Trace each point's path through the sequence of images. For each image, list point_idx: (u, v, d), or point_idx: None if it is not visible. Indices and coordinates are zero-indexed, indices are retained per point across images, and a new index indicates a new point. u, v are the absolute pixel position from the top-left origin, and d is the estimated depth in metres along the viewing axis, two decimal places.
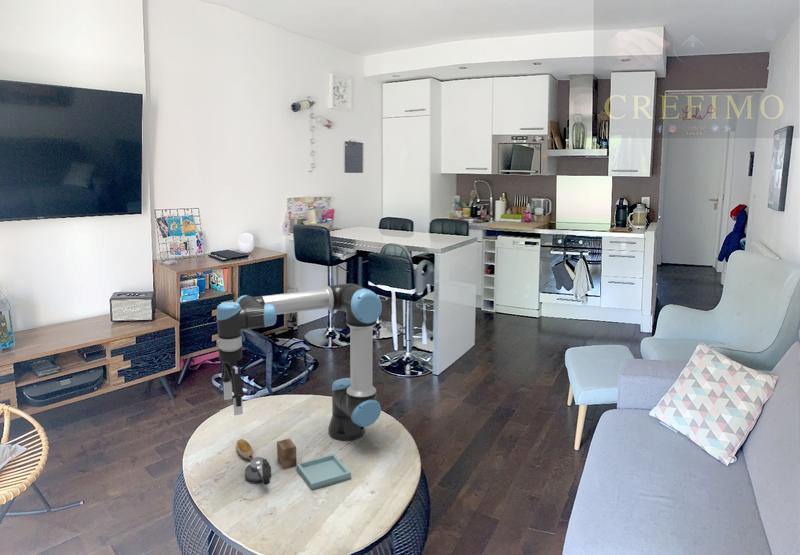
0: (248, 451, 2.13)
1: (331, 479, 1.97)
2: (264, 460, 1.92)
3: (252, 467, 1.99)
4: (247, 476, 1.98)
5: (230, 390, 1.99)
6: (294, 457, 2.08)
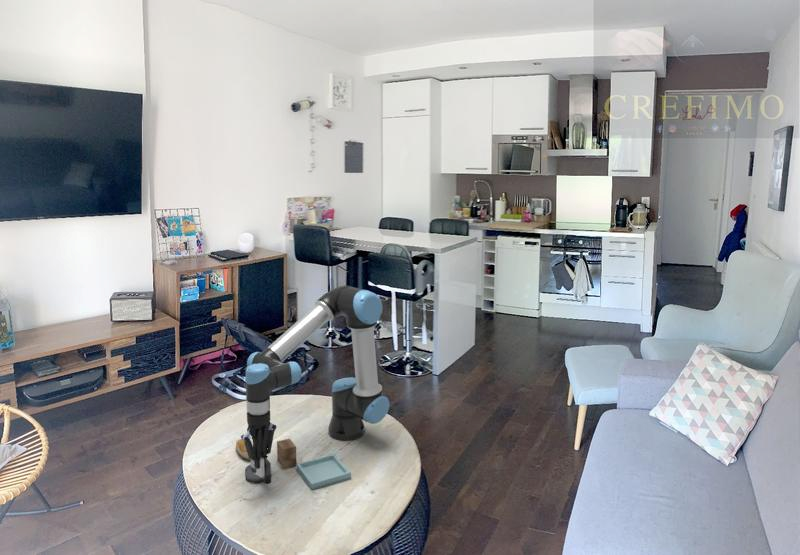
0: None
1: (331, 479, 1.97)
2: None
3: (252, 467, 1.99)
4: (247, 476, 1.98)
5: None
6: (294, 457, 2.08)
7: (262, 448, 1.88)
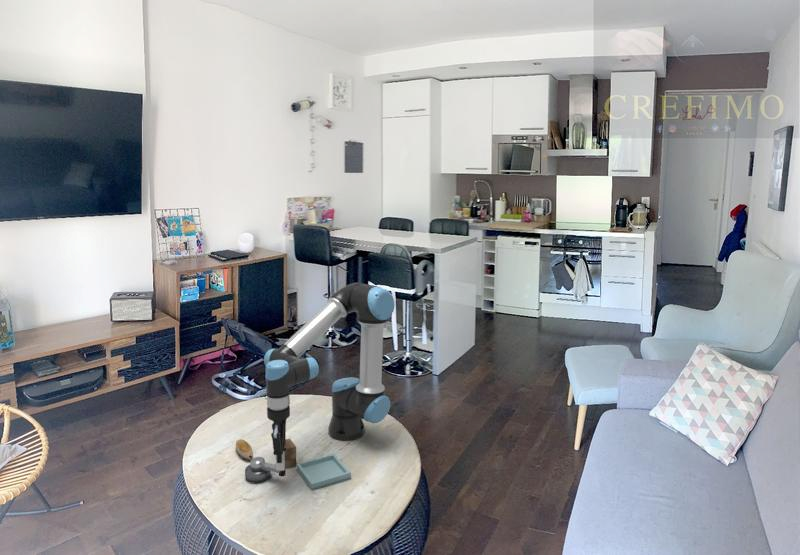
0: (248, 451, 2.13)
1: (331, 479, 1.97)
2: None
3: (256, 468, 1.99)
4: (247, 476, 1.98)
5: None
6: (294, 457, 2.08)
7: (282, 441, 1.93)
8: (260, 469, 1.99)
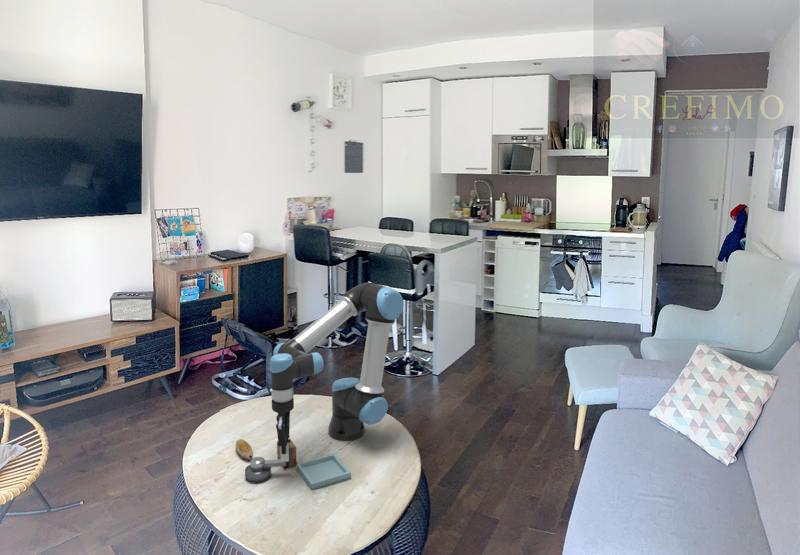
0: (248, 451, 2.13)
1: (331, 479, 1.97)
2: None
3: (260, 467, 1.99)
4: (247, 476, 1.98)
5: None
6: (294, 457, 2.08)
7: (286, 433, 1.98)
8: (263, 468, 2.00)
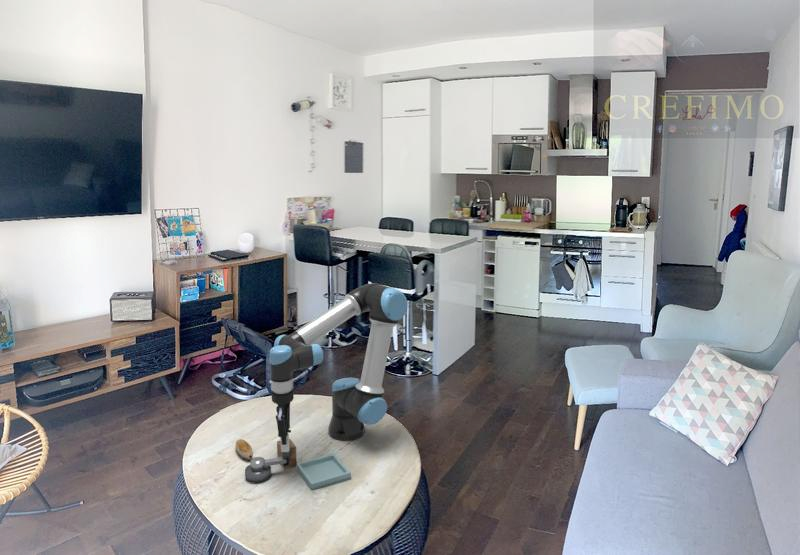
0: (248, 451, 2.13)
1: (331, 479, 1.97)
2: None
3: (261, 467, 1.99)
4: (247, 476, 1.98)
5: None
6: (294, 457, 2.08)
7: (286, 424, 2.00)
8: (264, 467, 2.01)
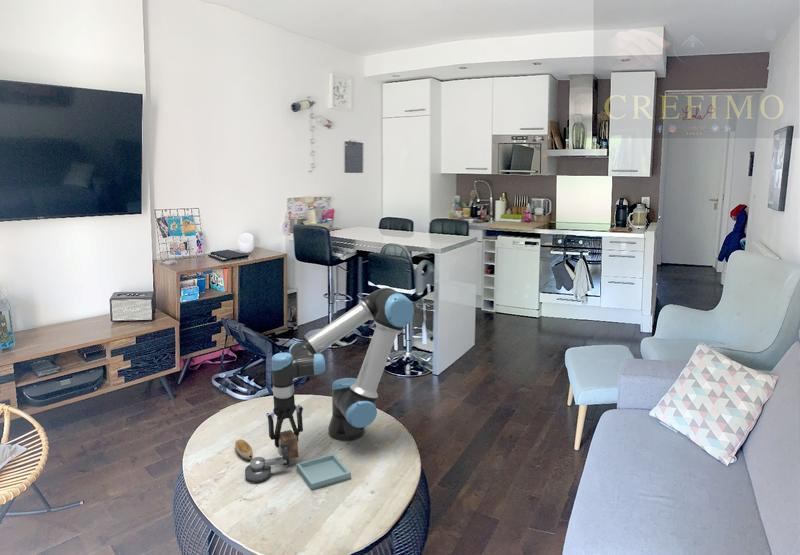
0: (248, 451, 2.13)
1: (331, 479, 1.97)
2: (283, 444, 2.03)
3: (261, 467, 1.99)
4: (247, 476, 1.98)
5: None
6: (296, 448, 2.08)
7: (293, 427, 2.10)
8: (264, 467, 2.01)
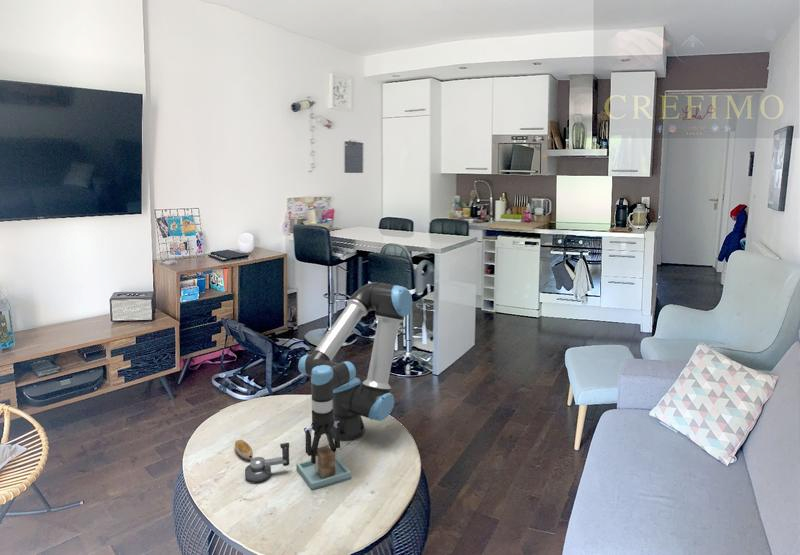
0: (248, 451, 2.13)
1: (331, 479, 1.97)
2: (283, 444, 2.03)
3: (261, 467, 1.99)
4: (247, 476, 1.98)
5: None
6: (333, 465, 2.00)
7: (330, 443, 2.02)
8: (264, 467, 2.01)
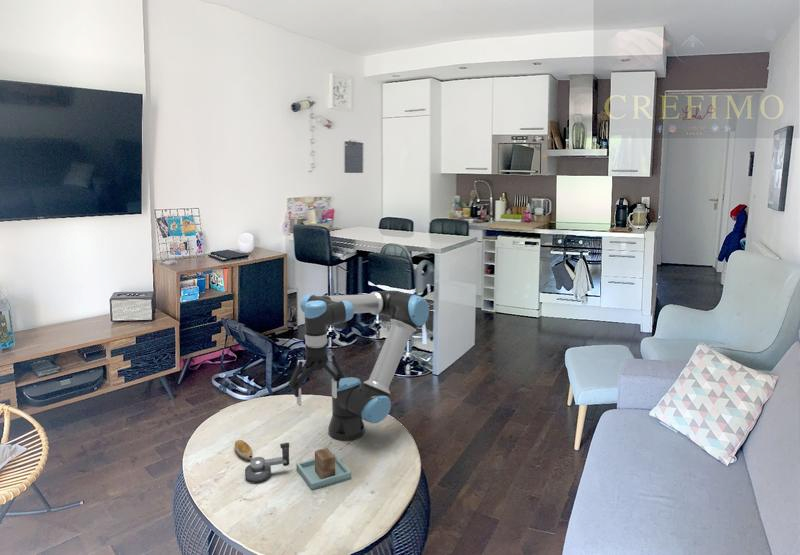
0: (248, 451, 2.13)
1: (331, 479, 1.97)
2: (283, 444, 2.03)
3: (261, 467, 1.99)
4: (247, 476, 1.98)
5: (334, 389, 2.05)
6: (333, 468, 2.00)
7: (331, 375, 2.03)
8: (264, 467, 2.01)
